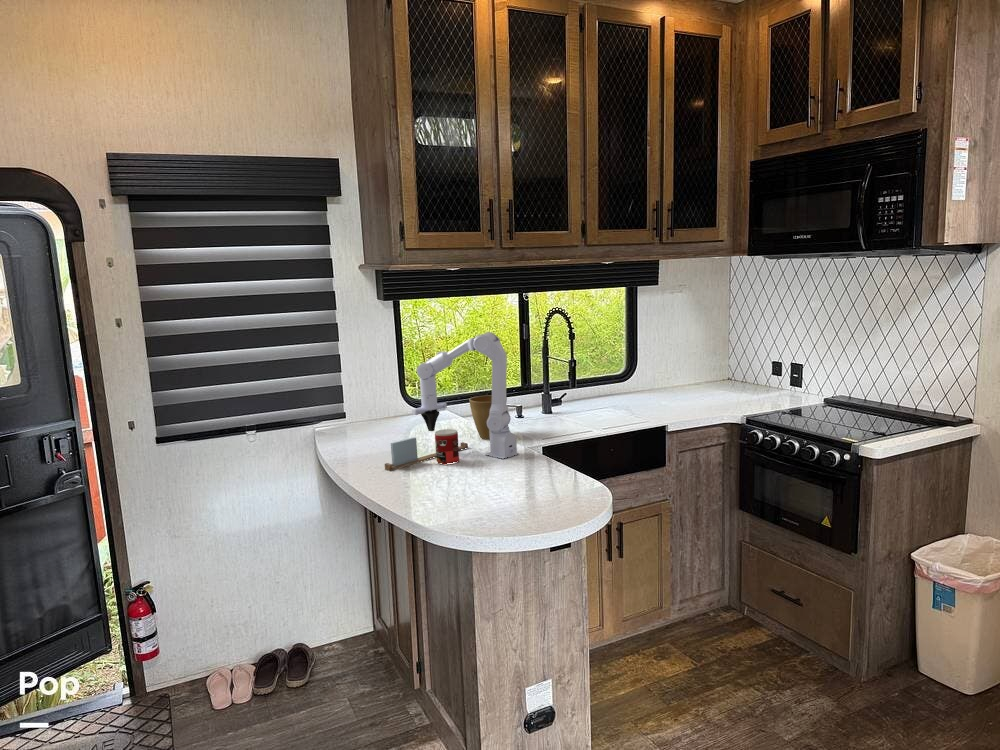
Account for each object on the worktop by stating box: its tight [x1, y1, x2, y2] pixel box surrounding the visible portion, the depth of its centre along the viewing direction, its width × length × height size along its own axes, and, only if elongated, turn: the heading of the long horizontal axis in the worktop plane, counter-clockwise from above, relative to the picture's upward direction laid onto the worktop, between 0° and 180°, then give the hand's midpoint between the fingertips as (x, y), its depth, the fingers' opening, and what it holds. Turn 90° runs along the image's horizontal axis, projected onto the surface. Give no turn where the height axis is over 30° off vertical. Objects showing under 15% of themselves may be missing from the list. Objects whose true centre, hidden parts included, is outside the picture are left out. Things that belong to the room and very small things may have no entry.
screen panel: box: [390, 436, 419, 466], centre depth 242 cm, size 2×10×8 cm, turn 133°
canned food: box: [434, 428, 460, 464], centre depth 243 cm, size 8×8×11 cm
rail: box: [384, 442, 469, 472], centre depth 249 cm, size 3×35×2 cm, turn 133°
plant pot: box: [468, 394, 508, 440], centre depth 274 cm, size 15×15×16 cm
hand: (431, 430), depth 256 cm, fingers closed
